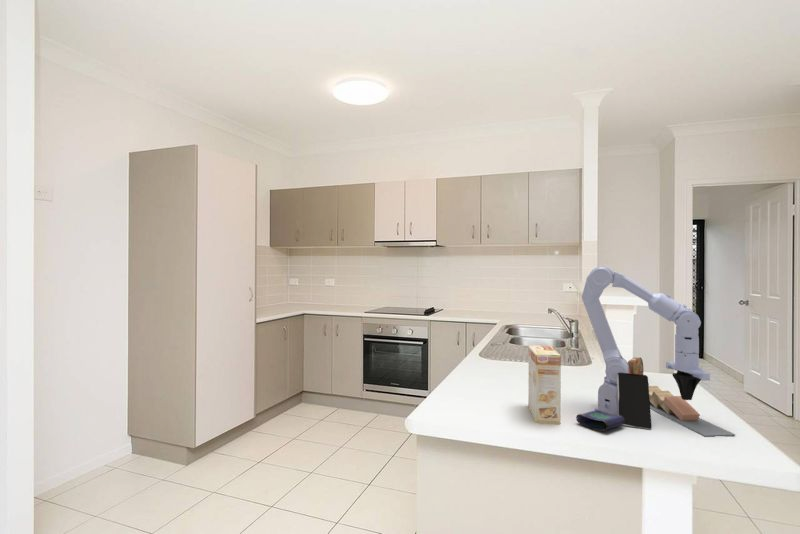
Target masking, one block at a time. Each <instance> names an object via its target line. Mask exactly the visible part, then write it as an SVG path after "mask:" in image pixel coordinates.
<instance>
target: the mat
mask: <svg viewBox="0 0 800 534" xmlns="http://www.w3.org/2000/svg"><path fill="white" fill-rule="evenodd" d="M650 411H653V412H655V413H657V414H659V415H661V416H662V417H665V418H667V419H669V420H671V421H673V422H674V423H677V424H678V425H681V426H683V427H684V428H686V429H688V430H690V431H692V432H694V433H696V434H698V435H700V436H702V437H704V438H716V437H715V436H725V437H731V436H730V435H736V434H735V433H734V432H731V431H729V430H727V429H725V428H722V427H720V426H718V425H716V424H713V423H711V422H709V421H707V420H705V419H703V418H701V417H699V419H698V420H687V421H681V420H680V419H679V418H678V417H677V416H676V415H675V414H667V412H666V411H665V410H664V409H663V408H655V406H654V405H653V404H652V403H650ZM736 436H737V435H736Z"/></svg>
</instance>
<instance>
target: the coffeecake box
mask: <svg viewBox="0 0 800 534" xmlns="http://www.w3.org/2000/svg"><path fill="white" fill-rule="evenodd" d="M561 359H562V356H561V354H560V353H559V352H558V351H556V350H555V348H553V347H552V346H550V345H531V344H529V345H528V401H527V402H528V405H527V406H528V409H529V411H530V413H532V414H531V416H532V419H533V420H534V422H535V423H538V424H551V425H552V424H553V425H561V404H562V403H561V398H562V397H561V395H562V393H561V392H562V391H561V384H562V382H561V379H562V377H561V375H562V374H561V373H562V372H561V369H562V367H561V366H562V365H561V361H562V360H561Z"/></svg>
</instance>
